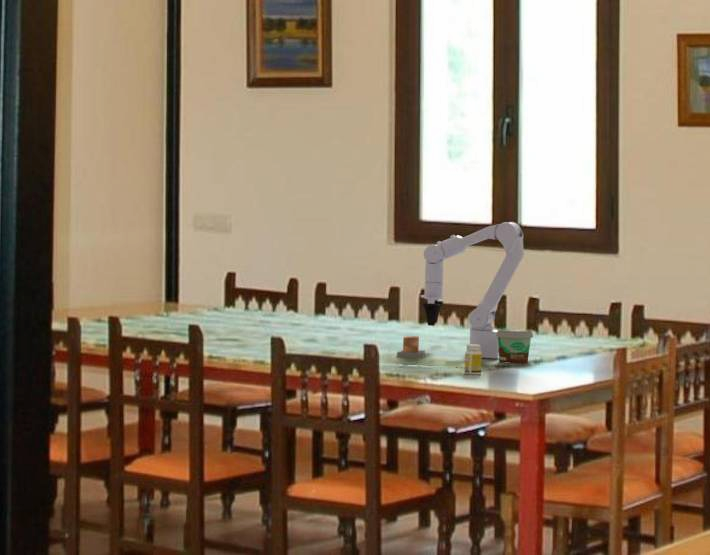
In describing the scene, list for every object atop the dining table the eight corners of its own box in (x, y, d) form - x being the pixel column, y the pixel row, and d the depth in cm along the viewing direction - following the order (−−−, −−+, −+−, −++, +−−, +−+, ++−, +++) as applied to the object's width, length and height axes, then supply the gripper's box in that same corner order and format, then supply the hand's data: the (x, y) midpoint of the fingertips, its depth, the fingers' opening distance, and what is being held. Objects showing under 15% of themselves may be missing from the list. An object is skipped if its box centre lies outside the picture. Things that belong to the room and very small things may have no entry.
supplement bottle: (483, 373, 402) (484, 344, 402) (477, 375, 398) (478, 346, 397) (467, 372, 404) (468, 343, 404) (462, 373, 400) (463, 344, 400)
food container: (504, 364, 425) (506, 331, 424) (494, 361, 430) (496, 329, 430) (539, 363, 430) (540, 331, 429) (529, 360, 435) (530, 329, 435)
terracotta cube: (418, 350, 436) (418, 336, 436) (417, 352, 432) (417, 338, 431) (404, 350, 437) (404, 335, 436) (402, 351, 432) (403, 337, 432)
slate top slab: (424, 355, 438) (425, 350, 437) (422, 358, 430) (422, 353, 430) (399, 354, 439) (399, 349, 438) (396, 356, 431) (397, 352, 431)
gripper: (423, 280, 453) (422, 321, 454) (418, 283, 439) (417, 325, 440) (445, 281, 452) (443, 322, 453) (441, 284, 438) (439, 326, 439)
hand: (432, 324), depth 446 cm, fingers open, 7 cm apart
